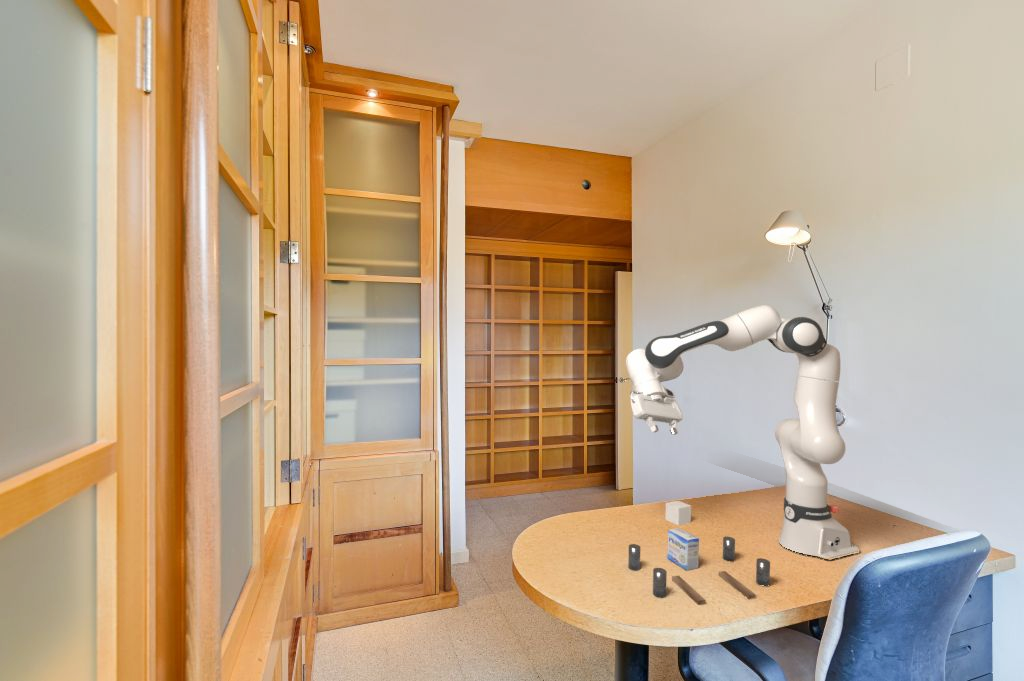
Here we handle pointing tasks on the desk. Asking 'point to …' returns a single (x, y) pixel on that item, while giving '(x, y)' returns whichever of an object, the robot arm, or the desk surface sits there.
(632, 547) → the spacer posts
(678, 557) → the medicine box
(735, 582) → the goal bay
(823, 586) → the desk surface
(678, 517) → the white cube
